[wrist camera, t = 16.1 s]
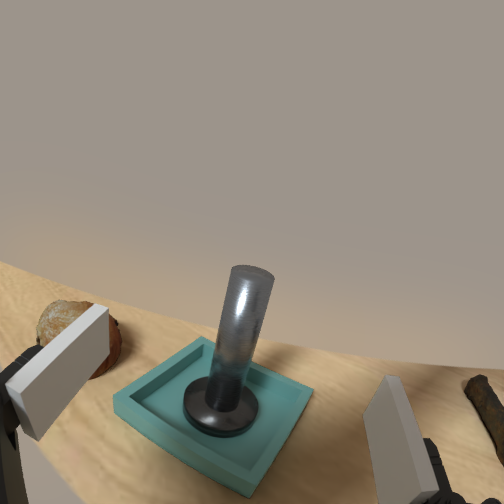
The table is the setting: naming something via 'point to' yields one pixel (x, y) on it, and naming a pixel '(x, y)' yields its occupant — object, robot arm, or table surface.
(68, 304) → the bread roll
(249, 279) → the joystick
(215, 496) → the table surface
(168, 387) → the tray
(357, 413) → the table surface
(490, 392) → the hand tool
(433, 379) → the table surface
